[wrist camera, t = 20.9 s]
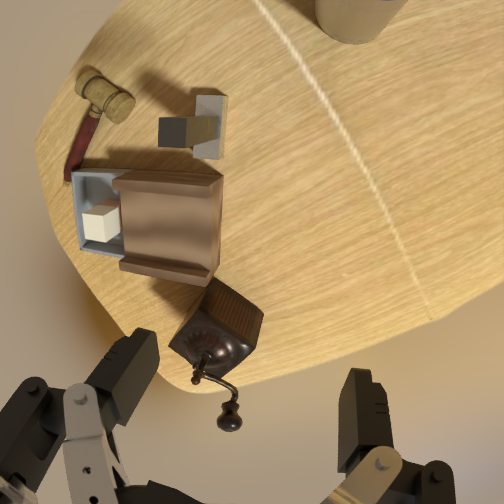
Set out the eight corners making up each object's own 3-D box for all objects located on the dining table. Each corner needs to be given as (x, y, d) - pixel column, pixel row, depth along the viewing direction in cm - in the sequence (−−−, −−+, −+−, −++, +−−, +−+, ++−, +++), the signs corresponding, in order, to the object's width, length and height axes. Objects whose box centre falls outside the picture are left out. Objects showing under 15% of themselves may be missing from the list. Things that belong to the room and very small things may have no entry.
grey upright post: (203, 95, 38) (157, 90, 26) (228, 96, 38) (191, 89, 26) (199, 155, 42) (155, 173, 30) (223, 157, 42) (187, 176, 30)
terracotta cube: (126, 201, 47) (106, 199, 47) (112, 208, 43) (92, 206, 43) (127, 224, 48) (108, 221, 49) (114, 233, 45) (95, 230, 45)
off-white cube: (97, 205, 43) (82, 213, 40) (118, 207, 43) (102, 215, 39) (100, 229, 45) (85, 238, 41) (120, 232, 44) (105, 242, 41)
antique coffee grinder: (183, 315, 55) (140, 386, 39) (215, 275, 50) (172, 350, 34) (251, 361, 56) (230, 439, 40) (290, 329, 52) (277, 414, 36)
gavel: (74, 207, 46) (41, 174, 45) (90, 198, 50) (57, 167, 49) (123, 99, 36) (81, 69, 35) (140, 98, 40) (100, 69, 38)
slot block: (137, 169, 44) (111, 179, 38) (223, 175, 43) (208, 186, 36) (141, 251, 50) (119, 270, 44) (219, 264, 49) (205, 287, 42)
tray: (84, 167, 46) (71, 172, 43) (135, 169, 44) (123, 173, 41) (91, 242, 52) (80, 250, 49) (139, 250, 51) (129, 259, 47)
